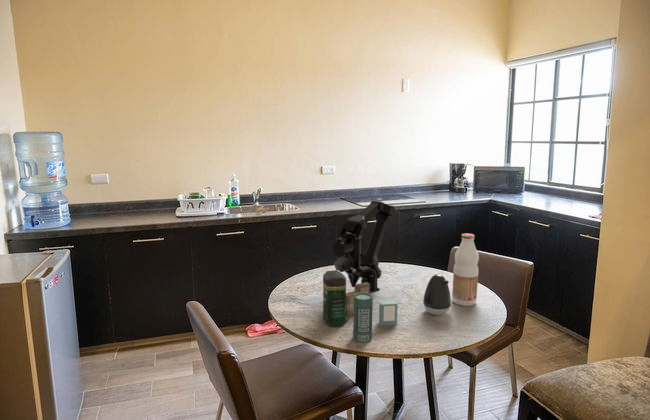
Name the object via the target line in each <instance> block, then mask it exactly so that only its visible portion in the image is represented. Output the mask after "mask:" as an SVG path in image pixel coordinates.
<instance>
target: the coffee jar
mask: <svg viewBox="0 0 650 420" xmlns="http://www.w3.org/2000/svg"><path fill="white" fill-rule="evenodd" d="M322 277H323V278H322V283H323V285H322V286H323V289H322V292H323V294H322V295H323V296H322V302H323V303H322V318H323V319H322V320H323V321H324V323H325V324H326V325H328V326H333V327H341V326H343V325H345V324H346V321H347V316H346V293H347V278H346V276H345V275H344V274H343V272H340V271H338V270H327V271H325V273H324V274H323V276H322Z"/></svg>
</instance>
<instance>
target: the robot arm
mask: <svg viewBox="0 0 650 420" xmlns="http://www.w3.org/2000/svg"><path fill="white" fill-rule="evenodd" d="M396 214H397V209H396V208H395V206H394V205H391V204H386V203H385V202H383V201H379V200H372V201H370V203H369V204H368V205H367V206H366V207H365V208H364V209H363V210H362V211H361V212H360V213H358V214H357V215H353V216H351V217H348V218H347V219H346V220H345V222H344V223H343V225H342V228H341V231H340V233H339V237H340V238H337V239H336V241H335V243H333V246H332V250H333V253H334V255H336V256H338V257H339V258H336V259H335V261H334V262H333V265H334V268H335V271H338V272H340V273H344V272H345V274H346V275H347V276H348V280H349V282H350V287H352V288H354V285H357V283H358V281H359V279H360V278H361V280H360V284H361V283H365V282H367V283H369V284H370V293H373V292H376V291H379V290H380V287H378V279H380V278H381V276H382V272H383V271H382V270H381V269H380V267H379V264H380V263H379V259H378V255H379V251H380V249H381V245H382V242H383V240H384V236H385V233H386V230H387V227H388V225H389V224H392V222H393V220H394V218H395V216H396ZM373 218H375V225H374V228H373V231H372V234H371V237H370V241H369V243H368V246H367V249H366V251H365V252H362V251H361V249H362V248H361V247H362V246H361V245H362V243H361V242H362V240H361V239H363V238H364V235H363V232H364V231H365V229H366V225H367V224H368V223H369V222H370V221H371V220H372V219H373ZM363 253H364V254H363Z"/></svg>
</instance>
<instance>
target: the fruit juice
mask: <svg viewBox="0 0 650 420" xmlns="http://www.w3.org/2000/svg"><path fill="white" fill-rule="evenodd" d="M475 237H476V236H475V234H473V233H468V232H467V233H461V242H460V245H458V248H457V249H456V251H455V254H454V259H455V264H454V265H453V275H452V276H453V277H452V292H451V293H452V297H451V298H452V299H451V301H452V302H453V304H455V305H459V306H464V307H471V306H474V305H476V303H477V299H478V297H477V296H478V284H479V283H478V282H479V281H478V280H479V266H478V263H479V260H480V255H479V252H478V250H477V247H476V244H475V242H474V240H475Z"/></svg>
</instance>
